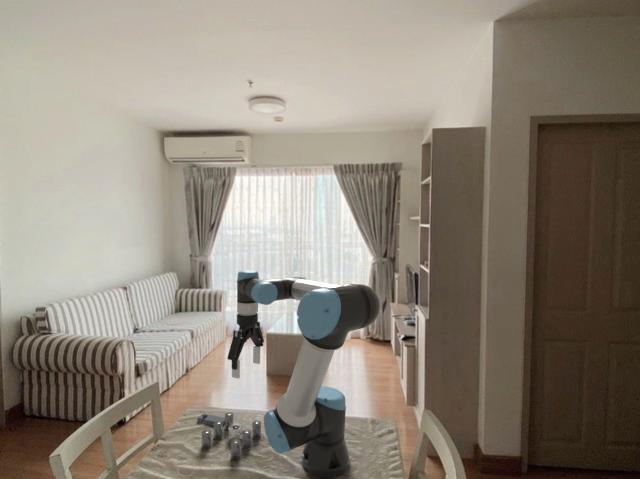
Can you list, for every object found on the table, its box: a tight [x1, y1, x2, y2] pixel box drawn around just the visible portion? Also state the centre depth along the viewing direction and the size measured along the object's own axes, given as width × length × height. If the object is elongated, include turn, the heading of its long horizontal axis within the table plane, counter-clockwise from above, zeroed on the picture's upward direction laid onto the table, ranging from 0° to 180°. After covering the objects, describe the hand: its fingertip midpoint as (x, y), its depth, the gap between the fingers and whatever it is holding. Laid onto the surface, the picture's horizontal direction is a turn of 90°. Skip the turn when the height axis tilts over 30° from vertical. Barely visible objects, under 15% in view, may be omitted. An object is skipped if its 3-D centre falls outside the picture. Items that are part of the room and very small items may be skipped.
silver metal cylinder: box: [227, 422, 244, 443], centre depth 123 cm, size 5×5×4 cm
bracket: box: [197, 412, 225, 427], centre depth 133 cm, size 4×10×2 cm, turn 73°
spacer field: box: [201, 411, 262, 461], centre depth 121 cm, size 15×15×5 cm
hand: (246, 370), depth 129 cm, fingers open, 13 cm apart
